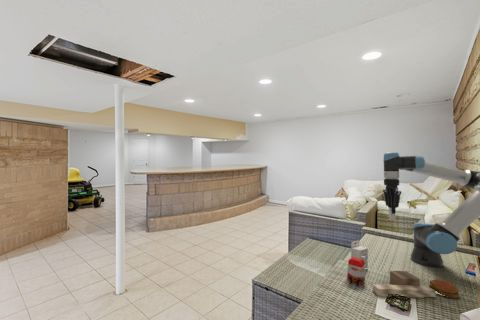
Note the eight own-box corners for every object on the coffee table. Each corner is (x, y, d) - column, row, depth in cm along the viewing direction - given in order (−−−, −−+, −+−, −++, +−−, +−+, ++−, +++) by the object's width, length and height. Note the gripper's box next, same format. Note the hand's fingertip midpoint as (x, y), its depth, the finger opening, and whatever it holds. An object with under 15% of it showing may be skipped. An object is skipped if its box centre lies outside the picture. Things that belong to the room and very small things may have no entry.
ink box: (360, 272, 117) (359, 244, 118) (350, 269, 121) (350, 241, 122) (368, 269, 122) (367, 242, 123) (359, 266, 126) (358, 239, 127)
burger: (465, 299, 94) (464, 288, 94) (442, 298, 94) (441, 287, 94) (444, 287, 103) (444, 277, 104) (424, 287, 104) (423, 276, 104)
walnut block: (406, 283, 107) (406, 271, 107) (420, 292, 99) (419, 278, 99) (390, 283, 107) (389, 270, 107) (402, 292, 99) (401, 278, 99)
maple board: (427, 292, 98) (427, 285, 99) (435, 297, 94) (435, 290, 95) (373, 291, 99) (373, 284, 99) (378, 296, 95) (378, 288, 95)
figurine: (344, 281, 107) (344, 256, 108) (349, 276, 112) (349, 252, 113) (364, 288, 101) (363, 261, 102) (368, 282, 106) (368, 257, 107)
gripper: (378, 178, 138) (379, 216, 136) (392, 178, 125) (393, 221, 123) (390, 178, 138) (391, 216, 136) (405, 179, 125) (406, 221, 123)
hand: (392, 218), depth 130 cm, fingers closed
